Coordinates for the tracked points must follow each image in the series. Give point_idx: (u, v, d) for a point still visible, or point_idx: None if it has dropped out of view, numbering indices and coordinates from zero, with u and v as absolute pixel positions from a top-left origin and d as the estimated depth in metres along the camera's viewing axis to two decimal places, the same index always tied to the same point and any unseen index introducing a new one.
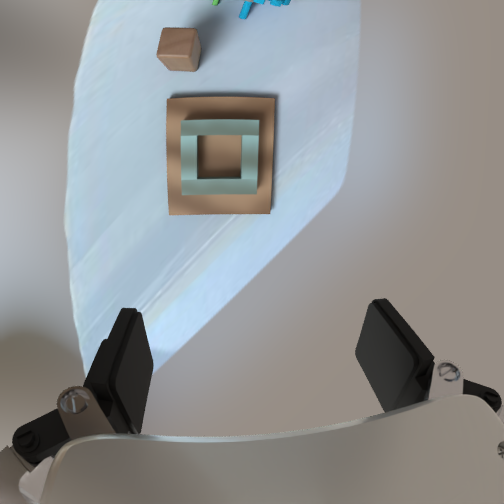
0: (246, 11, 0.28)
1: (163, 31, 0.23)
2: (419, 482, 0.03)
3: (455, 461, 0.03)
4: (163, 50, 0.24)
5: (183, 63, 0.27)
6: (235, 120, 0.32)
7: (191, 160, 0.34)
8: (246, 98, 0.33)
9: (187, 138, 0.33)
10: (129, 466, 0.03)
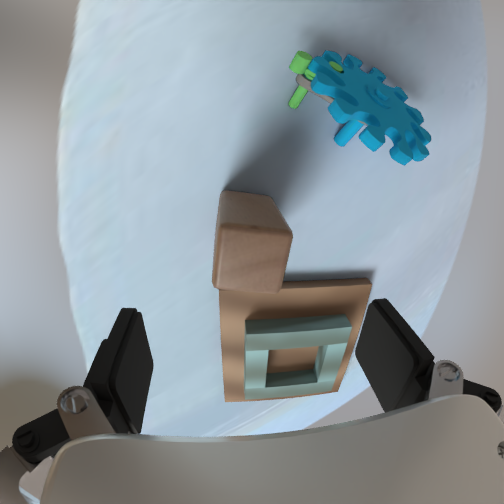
0: (352, 136, 0.19)
1: (223, 236, 0.15)
2: (419, 482, 0.03)
3: (455, 461, 0.03)
4: (227, 279, 0.16)
5: None
6: (322, 330, 0.24)
7: (259, 373, 0.26)
8: (336, 288, 0.25)
9: (255, 353, 0.25)
10: (129, 466, 0.03)
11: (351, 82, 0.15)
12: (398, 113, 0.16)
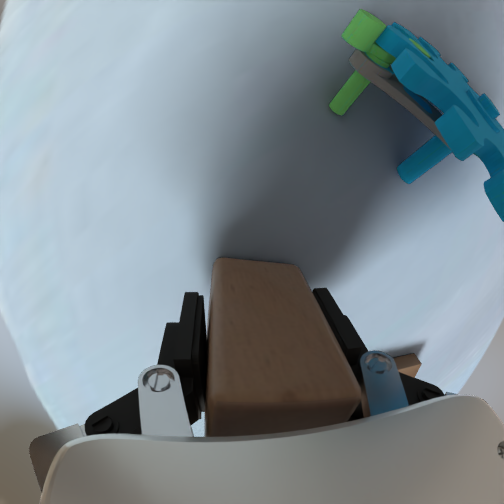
0: (428, 169, 0.11)
1: (221, 417, 0.06)
2: (419, 482, 0.03)
3: (455, 461, 0.03)
4: None
5: None
6: None
7: None
8: None
9: None
10: (129, 466, 0.03)
11: (450, 79, 0.07)
12: None
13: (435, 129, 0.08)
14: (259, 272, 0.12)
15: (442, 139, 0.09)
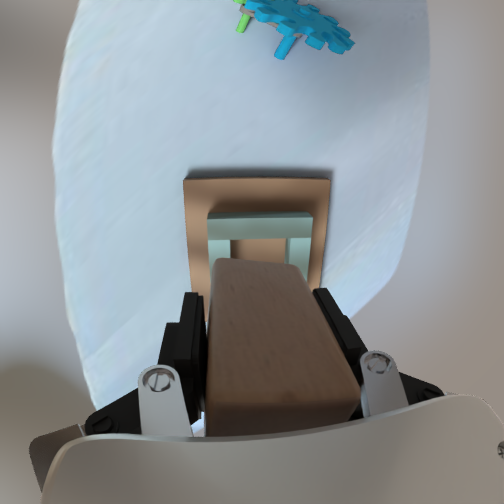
0: (287, 49, 0.21)
1: (220, 417, 0.06)
2: (419, 482, 0.03)
3: (455, 461, 0.03)
4: None
5: None
6: (282, 219, 0.26)
7: None
8: (294, 180, 0.26)
9: (217, 243, 0.26)
10: (129, 466, 0.03)
11: (279, 4, 0.17)
12: (320, 24, 0.17)
13: None
14: (259, 272, 0.12)
15: None
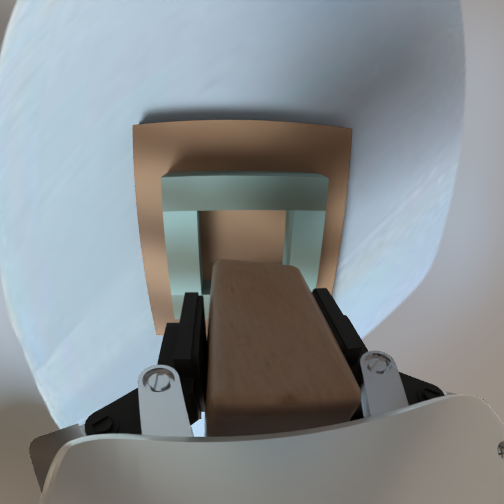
0: None
1: (221, 419, 0.06)
2: (419, 482, 0.03)
3: (455, 461, 0.03)
4: None
5: None
6: (280, 178, 0.16)
7: (188, 261, 0.17)
8: (298, 125, 0.16)
9: (177, 216, 0.16)
10: (129, 466, 0.03)
11: None
12: None
13: None
14: (259, 273, 0.12)
15: None
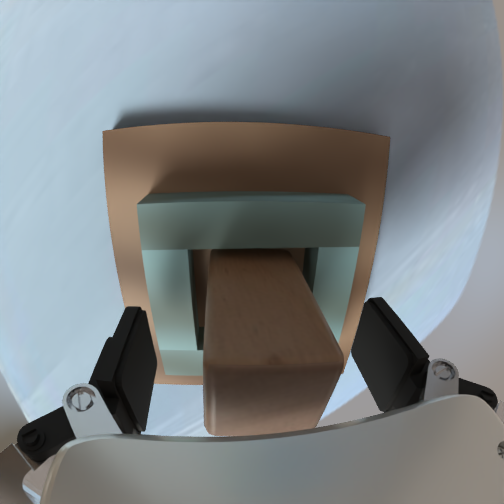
0: None
1: (213, 380, 0.07)
2: (419, 482, 0.03)
3: (455, 461, 0.03)
4: (229, 429, 0.08)
5: None
6: (302, 205, 0.11)
7: (178, 312, 0.13)
8: (324, 131, 0.12)
9: (161, 257, 0.12)
10: (129, 466, 0.03)
11: None
12: None
13: None
14: (252, 257, 0.13)
15: None
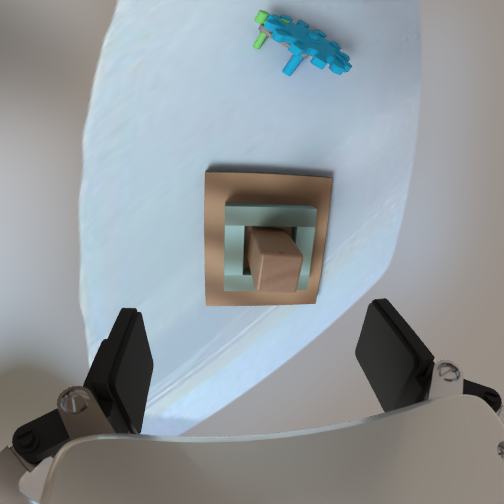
0: (294, 67, 0.25)
1: (262, 258, 0.25)
2: (419, 482, 0.03)
3: (455, 461, 0.03)
4: (264, 285, 0.26)
5: None
6: (290, 209, 0.29)
7: (237, 254, 0.31)
8: (301, 177, 0.30)
9: (233, 228, 0.30)
10: (129, 466, 0.03)
11: (292, 28, 0.22)
12: (325, 48, 0.22)
13: (289, 47, 0.23)
14: (269, 230, 0.31)
15: None
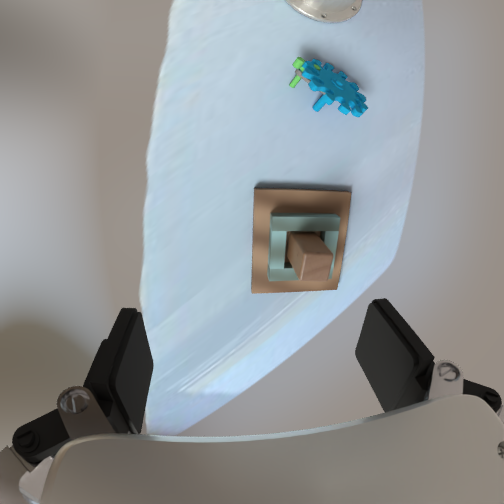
0: (322, 105, 0.34)
1: (305, 257, 0.34)
2: (419, 482, 0.03)
3: (455, 461, 0.03)
4: (306, 276, 0.35)
5: None
6: (321, 218, 0.38)
7: (280, 252, 0.40)
8: (327, 192, 0.39)
9: (278, 233, 0.39)
10: (129, 466, 0.03)
11: (323, 75, 0.30)
12: (348, 93, 0.31)
13: None
14: (304, 234, 0.40)
15: (323, 93, 0.32)
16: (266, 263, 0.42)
